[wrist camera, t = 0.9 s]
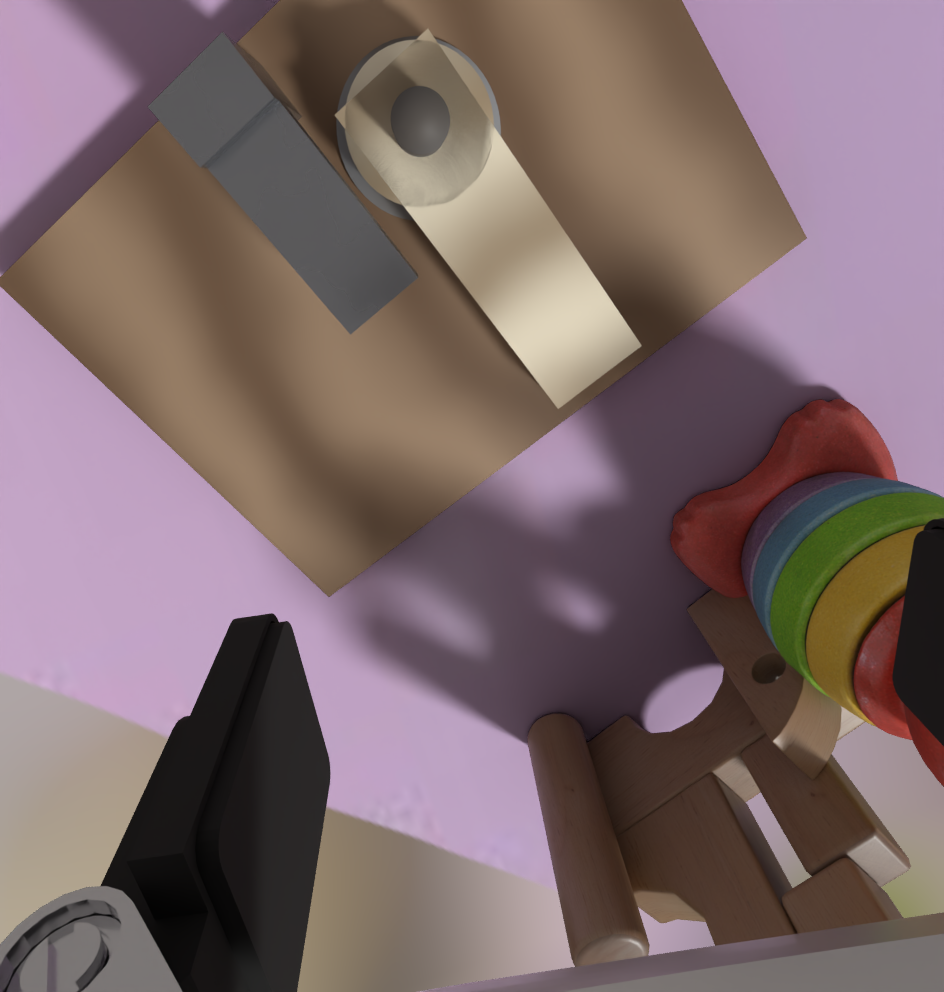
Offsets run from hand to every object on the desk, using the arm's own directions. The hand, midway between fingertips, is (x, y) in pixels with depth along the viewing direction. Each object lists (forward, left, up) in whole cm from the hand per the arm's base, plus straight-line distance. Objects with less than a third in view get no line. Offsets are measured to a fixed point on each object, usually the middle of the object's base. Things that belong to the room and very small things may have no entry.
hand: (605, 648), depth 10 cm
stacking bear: (-7, +17, -22) cm, 29 cm away
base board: (0, -5, -22) cm, 22 cm away
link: (-3, -4, -20) cm, 20 cm away
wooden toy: (+4, +21, -22) cm, 31 cm away
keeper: (+1, -9, -20) cm, 22 cm away
